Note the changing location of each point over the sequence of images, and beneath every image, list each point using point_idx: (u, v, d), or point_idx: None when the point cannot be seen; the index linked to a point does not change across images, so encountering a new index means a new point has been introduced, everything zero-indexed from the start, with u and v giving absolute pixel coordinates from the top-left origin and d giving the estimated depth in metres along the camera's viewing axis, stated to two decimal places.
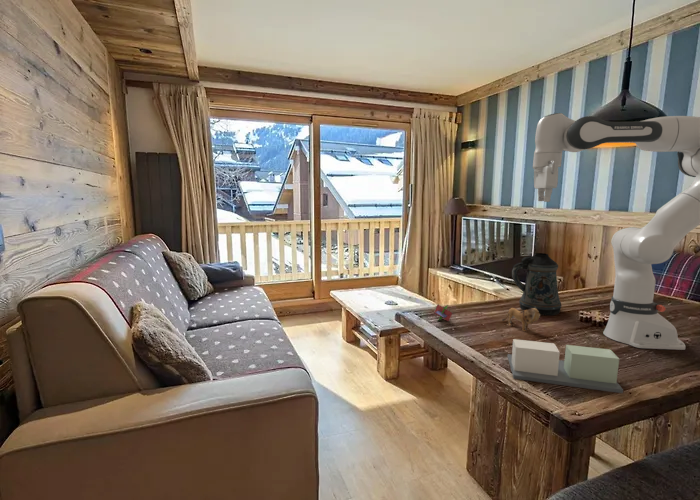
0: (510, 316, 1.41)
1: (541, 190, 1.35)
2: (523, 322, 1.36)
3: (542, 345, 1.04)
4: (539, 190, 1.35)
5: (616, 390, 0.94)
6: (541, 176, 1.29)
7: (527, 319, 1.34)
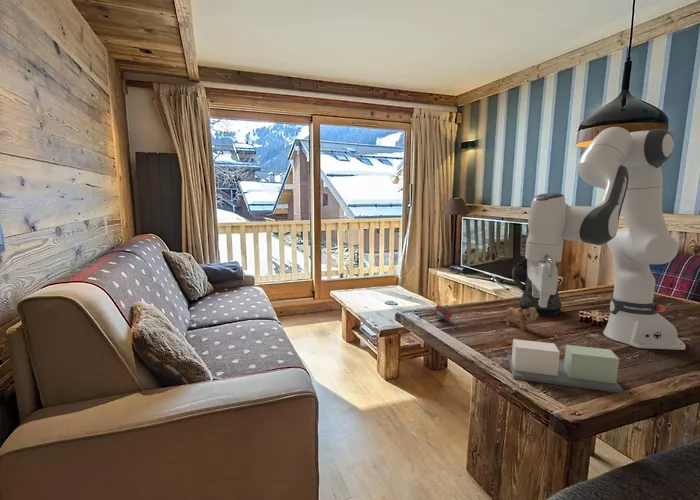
0: (508, 315, 1.42)
1: None
2: (521, 321, 1.36)
3: (542, 345, 1.04)
4: (533, 283, 1.06)
5: (616, 390, 0.94)
6: (536, 270, 1.00)
7: (525, 318, 1.35)
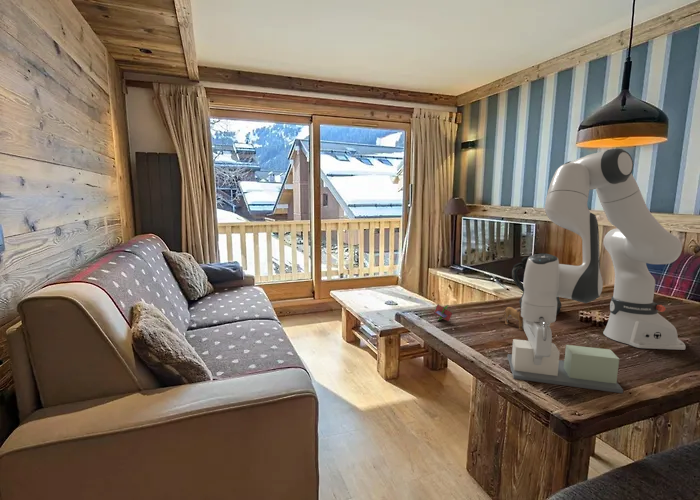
0: (507, 315, 1.42)
1: None
2: (520, 321, 1.37)
3: None
4: None
5: (616, 390, 0.94)
6: (531, 329, 1.03)
7: None
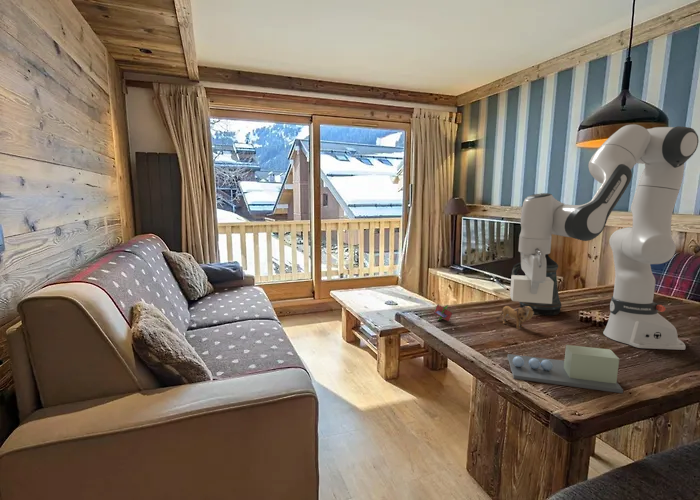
0: (504, 314, 1.43)
1: None
2: (517, 320, 1.38)
3: None
4: (527, 274, 1.18)
5: (616, 390, 0.94)
6: (528, 262, 1.13)
7: (521, 317, 1.36)
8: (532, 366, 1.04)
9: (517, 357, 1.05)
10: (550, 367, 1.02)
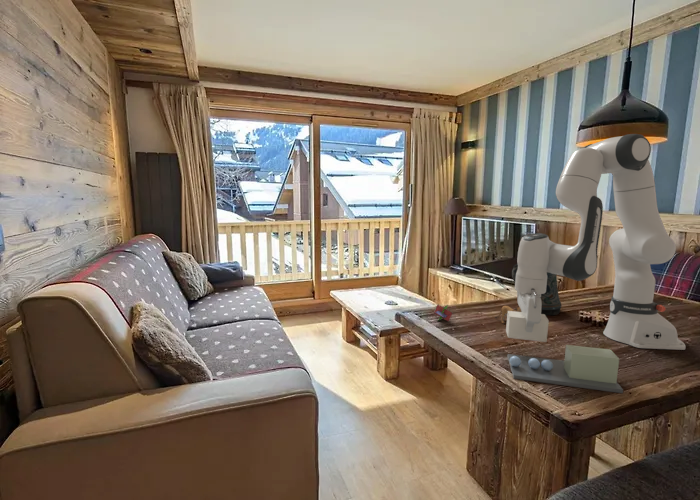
0: (503, 314, 1.44)
1: None
2: None
3: None
4: None
5: (616, 390, 0.94)
6: (524, 300, 1.15)
7: None
8: (532, 366, 1.04)
9: (511, 358, 1.06)
10: (551, 367, 1.02)
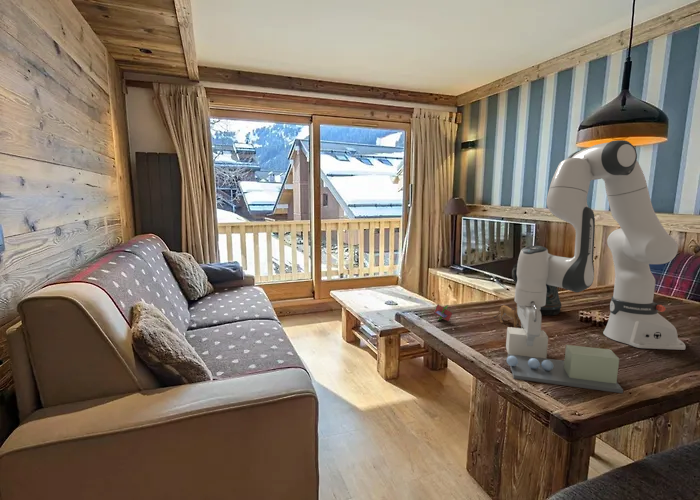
0: (502, 313, 1.44)
1: None
2: (515, 319, 1.39)
3: None
4: None
5: (616, 390, 0.94)
6: (523, 313, 1.15)
7: None
8: (532, 366, 1.04)
9: (507, 360, 1.06)
10: (551, 368, 1.02)
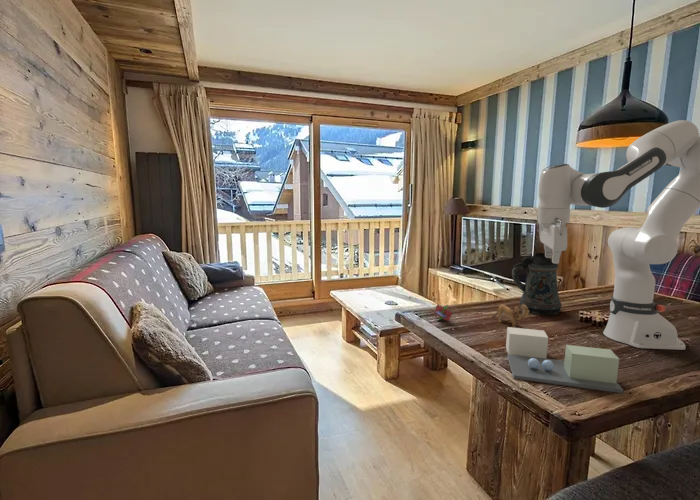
0: (500, 313, 1.45)
1: (548, 245, 1.21)
2: (513, 318, 1.40)
3: (533, 332, 1.16)
4: (546, 245, 1.21)
5: (616, 390, 0.94)
6: (547, 233, 1.15)
7: (517, 315, 1.38)
8: (531, 367, 1.04)
9: None
10: (551, 368, 1.02)
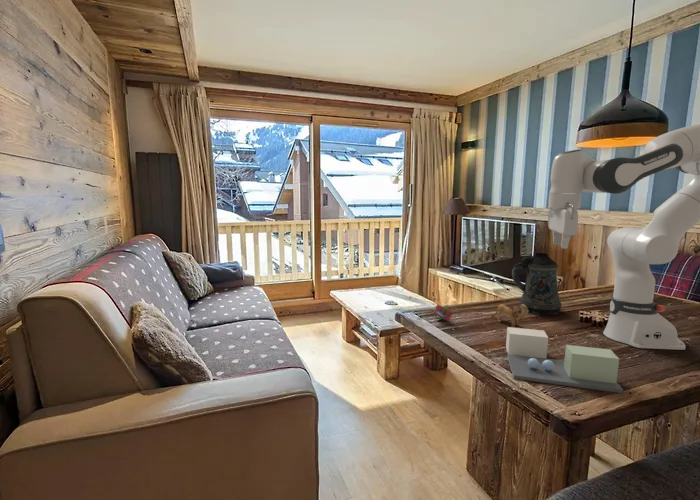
0: (499, 312, 1.45)
1: (557, 232, 1.21)
2: (512, 318, 1.40)
3: (533, 332, 1.16)
4: (554, 232, 1.22)
5: (616, 390, 0.94)
6: (557, 218, 1.16)
7: (516, 315, 1.38)
8: (531, 367, 1.04)
9: None
10: (552, 368, 1.02)
